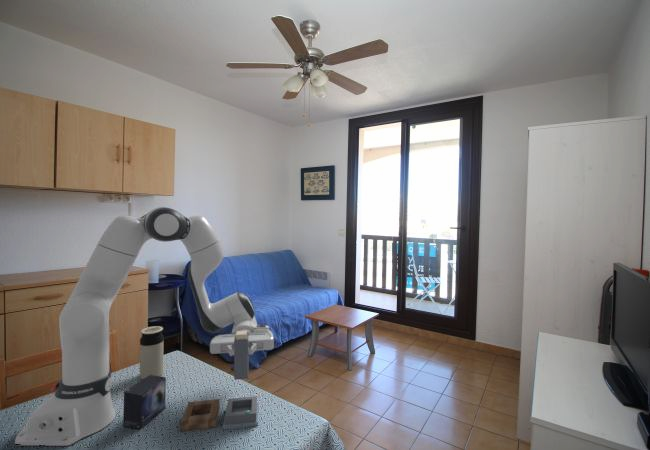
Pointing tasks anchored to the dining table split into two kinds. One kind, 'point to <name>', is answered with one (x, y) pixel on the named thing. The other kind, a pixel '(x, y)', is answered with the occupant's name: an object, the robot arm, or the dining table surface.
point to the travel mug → (151, 352)
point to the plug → (241, 355)
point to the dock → (241, 413)
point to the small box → (144, 401)
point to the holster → (200, 421)
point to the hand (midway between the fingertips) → (241, 353)
